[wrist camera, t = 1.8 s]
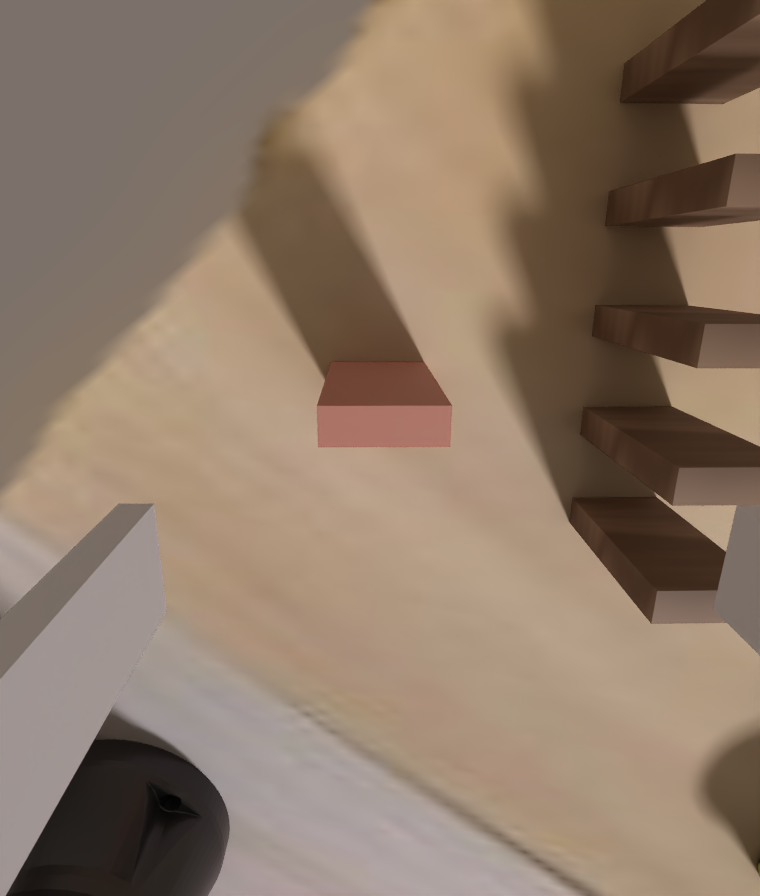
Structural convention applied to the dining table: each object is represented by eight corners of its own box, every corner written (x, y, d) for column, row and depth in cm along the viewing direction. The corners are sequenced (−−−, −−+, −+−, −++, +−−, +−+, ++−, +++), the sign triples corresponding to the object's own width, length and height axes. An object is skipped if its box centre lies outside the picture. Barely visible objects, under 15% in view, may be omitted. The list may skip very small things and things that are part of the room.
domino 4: (683, 336, 30) (829, 368, 21) (592, 335, 30) (697, 368, 21) (688, 305, 30) (840, 324, 20) (595, 305, 30) (704, 324, 20)
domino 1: (423, 391, 31) (450, 446, 21) (332, 391, 31) (318, 447, 21) (424, 362, 30) (451, 405, 21) (331, 361, 30) (316, 405, 21)
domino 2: (722, 104, 27) (918, 16, 18) (620, 102, 27) (761, 13, 17) (729, 65, 27) (934, -47, 17) (624, 63, 26) (772, -51, 17)
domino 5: (667, 433, 32) (795, 504, 23) (580, 434, 32) (672, 505, 22) (671, 406, 32) (804, 467, 22) (583, 406, 31) (679, 467, 22)
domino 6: (652, 521, 34) (765, 622, 24) (569, 522, 34) (651, 623, 24) (656, 497, 33) (773, 589, 24) (572, 497, 33) (657, 590, 24)
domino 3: (701, 226, 29) (870, 207, 19) (605, 226, 29) (726, 206, 19) (707, 192, 28) (883, 155, 19) (609, 191, 28) (735, 153, 19)
